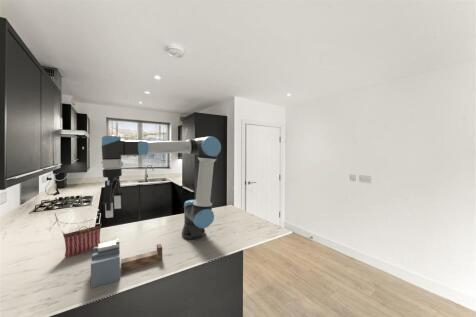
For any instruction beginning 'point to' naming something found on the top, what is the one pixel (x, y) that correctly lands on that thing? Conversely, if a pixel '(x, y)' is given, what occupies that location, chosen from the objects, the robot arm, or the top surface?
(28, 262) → the top surface
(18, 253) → the top surface
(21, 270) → the top surface
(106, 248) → the keeper
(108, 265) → the block
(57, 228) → the top surface
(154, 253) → the wooden bar
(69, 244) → the handbag
